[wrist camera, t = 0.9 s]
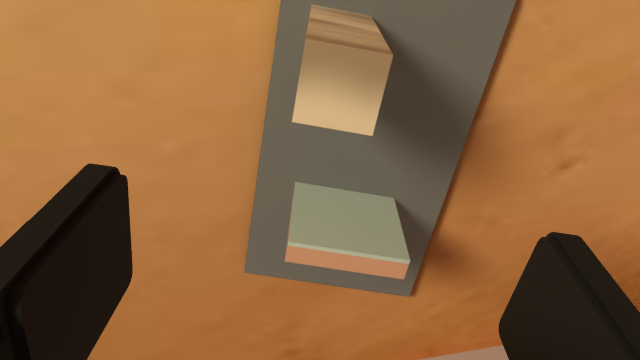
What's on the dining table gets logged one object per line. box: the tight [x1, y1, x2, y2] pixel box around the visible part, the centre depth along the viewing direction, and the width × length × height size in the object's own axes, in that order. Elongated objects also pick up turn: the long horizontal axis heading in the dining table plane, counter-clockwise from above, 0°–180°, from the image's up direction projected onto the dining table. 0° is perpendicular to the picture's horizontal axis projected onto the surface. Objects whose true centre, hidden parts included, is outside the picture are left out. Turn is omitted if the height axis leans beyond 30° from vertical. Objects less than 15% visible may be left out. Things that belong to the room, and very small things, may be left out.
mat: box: [244, 0, 516, 297], centre depth 36 cm, size 26×15×1 cm, turn 170°
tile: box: [285, 182, 410, 279], centre depth 34 cm, size 2×8×8 cm, turn 79°
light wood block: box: [292, 5, 393, 136], centre depth 26 cm, size 4×4×11 cm
